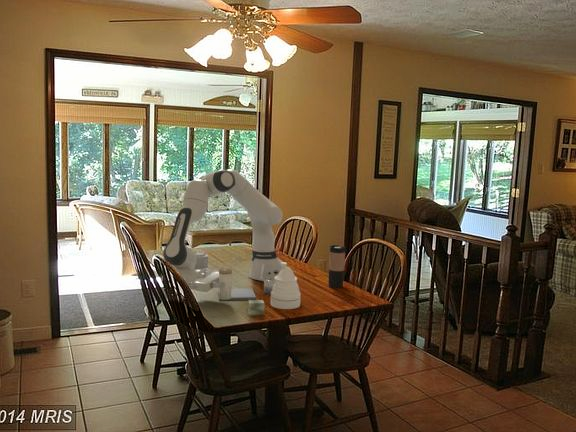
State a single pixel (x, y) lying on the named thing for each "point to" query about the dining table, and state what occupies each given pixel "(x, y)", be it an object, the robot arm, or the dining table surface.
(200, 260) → the lumpy-topped squat cylinder
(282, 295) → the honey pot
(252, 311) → the sage block
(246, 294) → the serving board
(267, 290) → the metal tin
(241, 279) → the dining table surface
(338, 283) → the travel mug
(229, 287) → the white lidded jar
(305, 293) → the dining table surface
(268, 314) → the dining table surface
